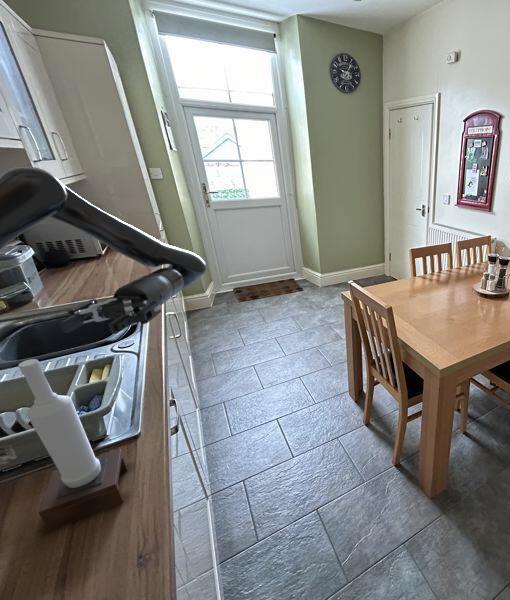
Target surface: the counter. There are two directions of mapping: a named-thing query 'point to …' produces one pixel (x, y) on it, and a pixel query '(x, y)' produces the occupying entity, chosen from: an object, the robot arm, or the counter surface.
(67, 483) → the bottle
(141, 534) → the counter surface
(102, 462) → the dark wooden pedestal
